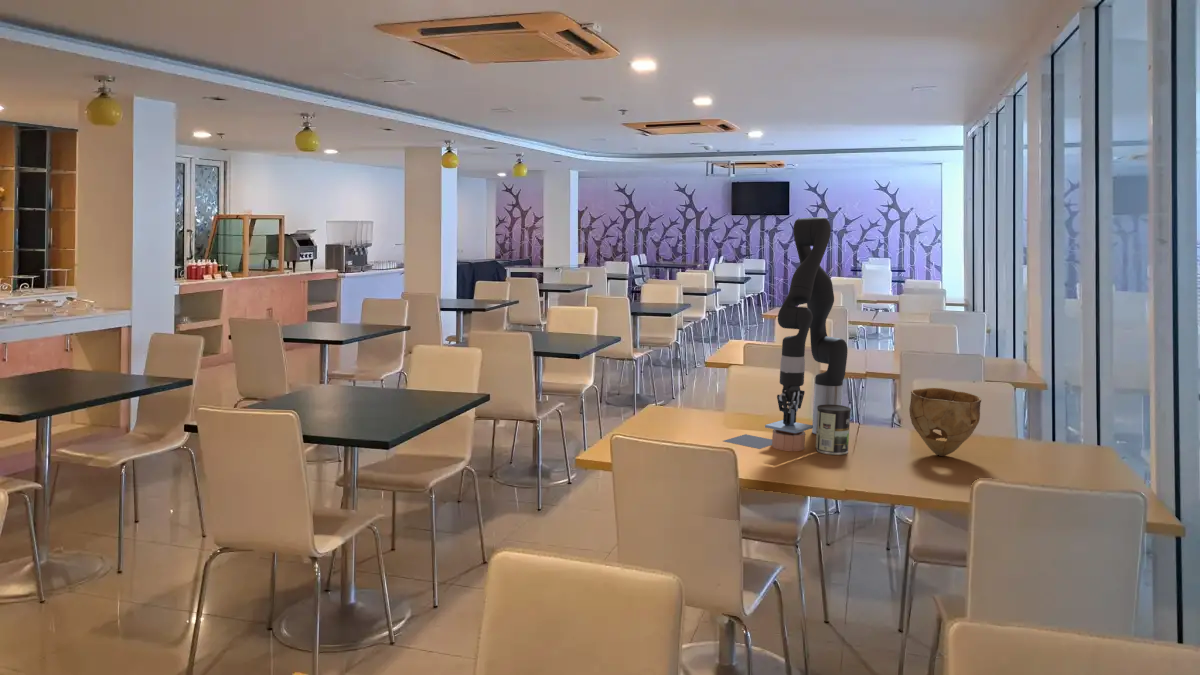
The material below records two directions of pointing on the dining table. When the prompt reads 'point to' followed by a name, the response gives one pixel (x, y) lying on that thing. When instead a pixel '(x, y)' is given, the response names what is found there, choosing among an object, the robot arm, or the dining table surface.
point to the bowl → (944, 417)
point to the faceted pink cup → (788, 440)
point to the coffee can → (832, 429)
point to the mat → (750, 441)
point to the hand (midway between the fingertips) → (789, 423)
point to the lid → (789, 428)
